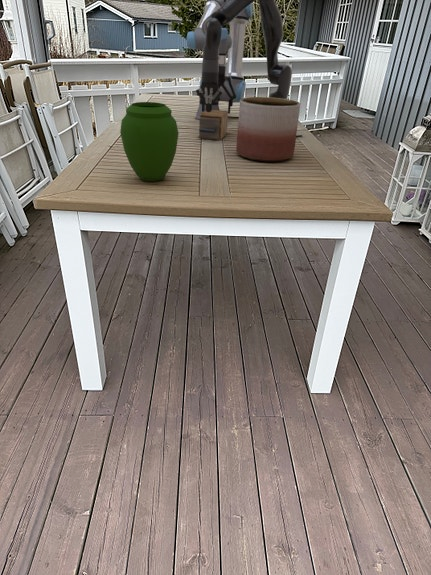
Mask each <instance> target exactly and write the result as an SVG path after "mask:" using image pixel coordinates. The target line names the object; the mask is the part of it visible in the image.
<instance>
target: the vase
mask: <svg viewBox="0 0 431 575" xmlns="http://www.w3.org/2000/svg"><path fill="white" fill-rule="evenodd" d="M125 113H126V114H125V115H124V117H122V119H121V122H120V123H121V124H120V130H119V133H120V138H121V142H122V147H123V150H124V154H125V155H126V158H127V160H128V163H129V165H130V167H131V168H132V170H133V172H134V173H135V175H136V176H137V177H138V178H139V179H141V180H143V181H145V182H159V181H161V180H163V179H164V178H165V176H166V175H167V174H168V173H169V170H170V169H171V167H172V165H173V162H174V159H175V157H176V156H175V155H176V153H177V147H178V140H179V129H178V122H177V120H176V119H175V117H174V116H173V115H172V109H171V108H170V107H169V106H167V105H166V104H164V103H162V102H155V101H138V102H132V103H131V104H130V105H128V107H127V108H125Z"/></svg>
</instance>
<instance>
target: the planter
mask: <svg viewBox="0 0 431 575" xmlns="http://www.w3.org/2000/svg"><path fill="white" fill-rule="evenodd" d="M300 109H301V103H300V102H299V101H297V100H294V99H288V98H287V99H282V98H272V97H269V96H247V97H243V98H242V99H240V102H239V109H238V117H239V118H238V122H237V133H236V146H235V149H236V150H235V152H236V153H237V154H238V155H239V156H241V157H243V158H245V159H248V160H251V161H256V162H265V163H266V162H268V163H273V162H283V161H287V160H289V159H291V158H292V157H293V156H294V154H295V148H296V142H297V141H296V140H297V137H296V135H297V133H298V125H299V116H300Z"/></svg>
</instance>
